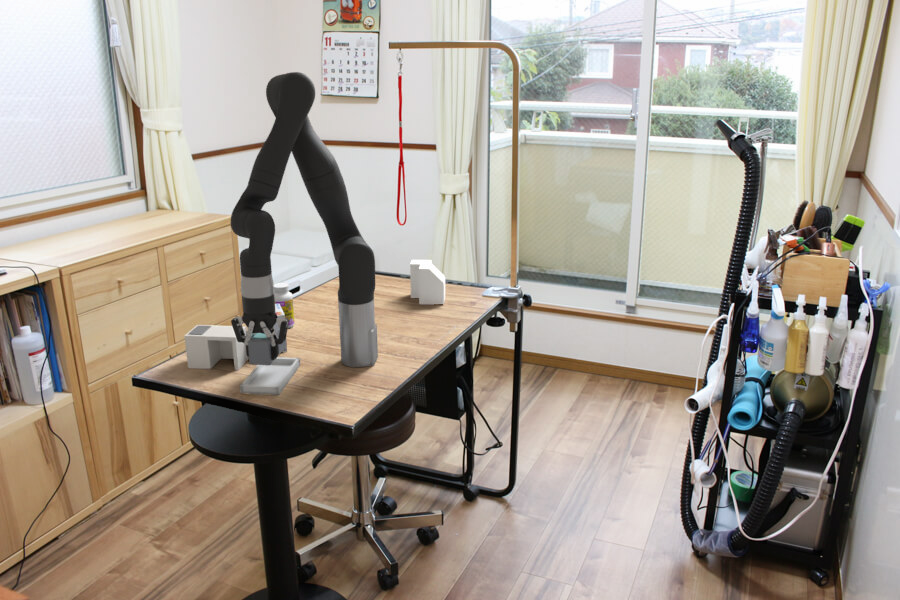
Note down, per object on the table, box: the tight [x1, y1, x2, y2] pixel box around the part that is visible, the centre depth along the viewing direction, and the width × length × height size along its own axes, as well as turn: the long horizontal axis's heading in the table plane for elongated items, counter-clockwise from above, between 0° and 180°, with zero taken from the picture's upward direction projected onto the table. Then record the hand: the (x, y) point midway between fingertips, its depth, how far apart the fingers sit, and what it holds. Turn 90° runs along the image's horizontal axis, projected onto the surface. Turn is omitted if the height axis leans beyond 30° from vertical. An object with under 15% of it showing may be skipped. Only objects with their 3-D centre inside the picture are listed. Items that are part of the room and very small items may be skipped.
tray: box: [239, 356, 301, 396], centre depth 187 cm, size 10×18×2 cm, turn 175°
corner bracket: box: [409, 259, 446, 305], centre depth 244 cm, size 11×11×12 cm
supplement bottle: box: [274, 282, 295, 329], centre depth 221 cm, size 7×7×13 cm
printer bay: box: [183, 324, 249, 371], centre depth 195 cm, size 14×8×9 cm, turn 85°
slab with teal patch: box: [248, 323, 288, 366], centre depth 184 cm, size 5×13×6 cm, turn 174°
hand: (262, 358), depth 181 cm, fingers closed on slab with teal patch, 5 cm apart
